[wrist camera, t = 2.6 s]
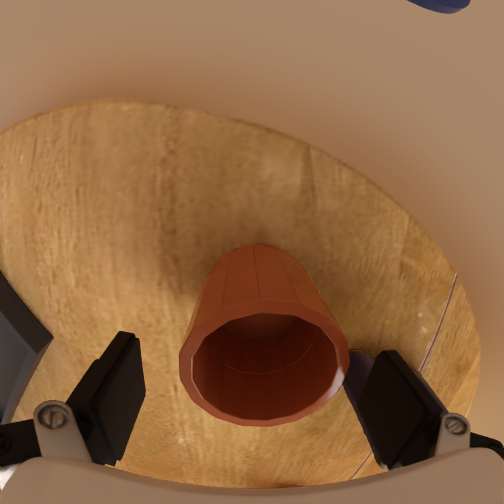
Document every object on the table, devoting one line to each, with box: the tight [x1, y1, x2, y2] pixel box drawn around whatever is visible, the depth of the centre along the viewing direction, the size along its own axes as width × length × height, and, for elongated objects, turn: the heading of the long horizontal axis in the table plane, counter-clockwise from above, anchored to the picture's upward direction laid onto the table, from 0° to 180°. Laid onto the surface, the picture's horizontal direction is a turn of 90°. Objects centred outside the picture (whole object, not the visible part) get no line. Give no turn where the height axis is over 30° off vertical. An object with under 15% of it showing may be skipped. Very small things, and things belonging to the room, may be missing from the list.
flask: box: [342, 349, 449, 470], centre depth 13 cm, size 9×3×11 cm, turn 63°
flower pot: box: [179, 244, 350, 427], centre depth 12 cm, size 6×6×7 cm
